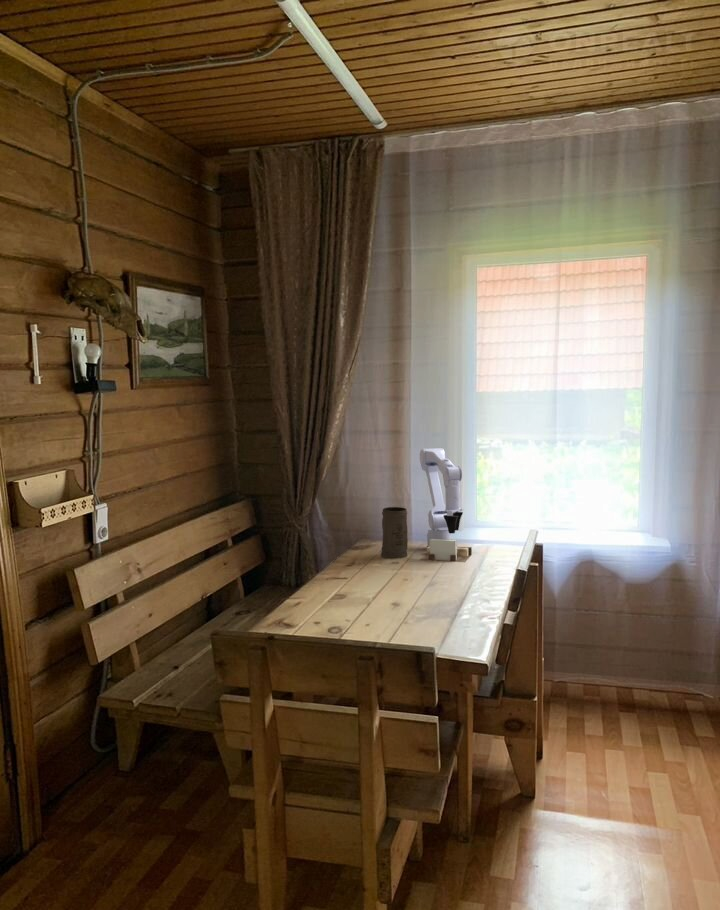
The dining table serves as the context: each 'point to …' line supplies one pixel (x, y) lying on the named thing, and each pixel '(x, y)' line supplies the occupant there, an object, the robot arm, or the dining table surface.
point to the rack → (452, 557)
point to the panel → (443, 548)
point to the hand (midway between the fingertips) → (453, 531)
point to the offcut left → (428, 550)
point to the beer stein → (394, 533)
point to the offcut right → (462, 552)
